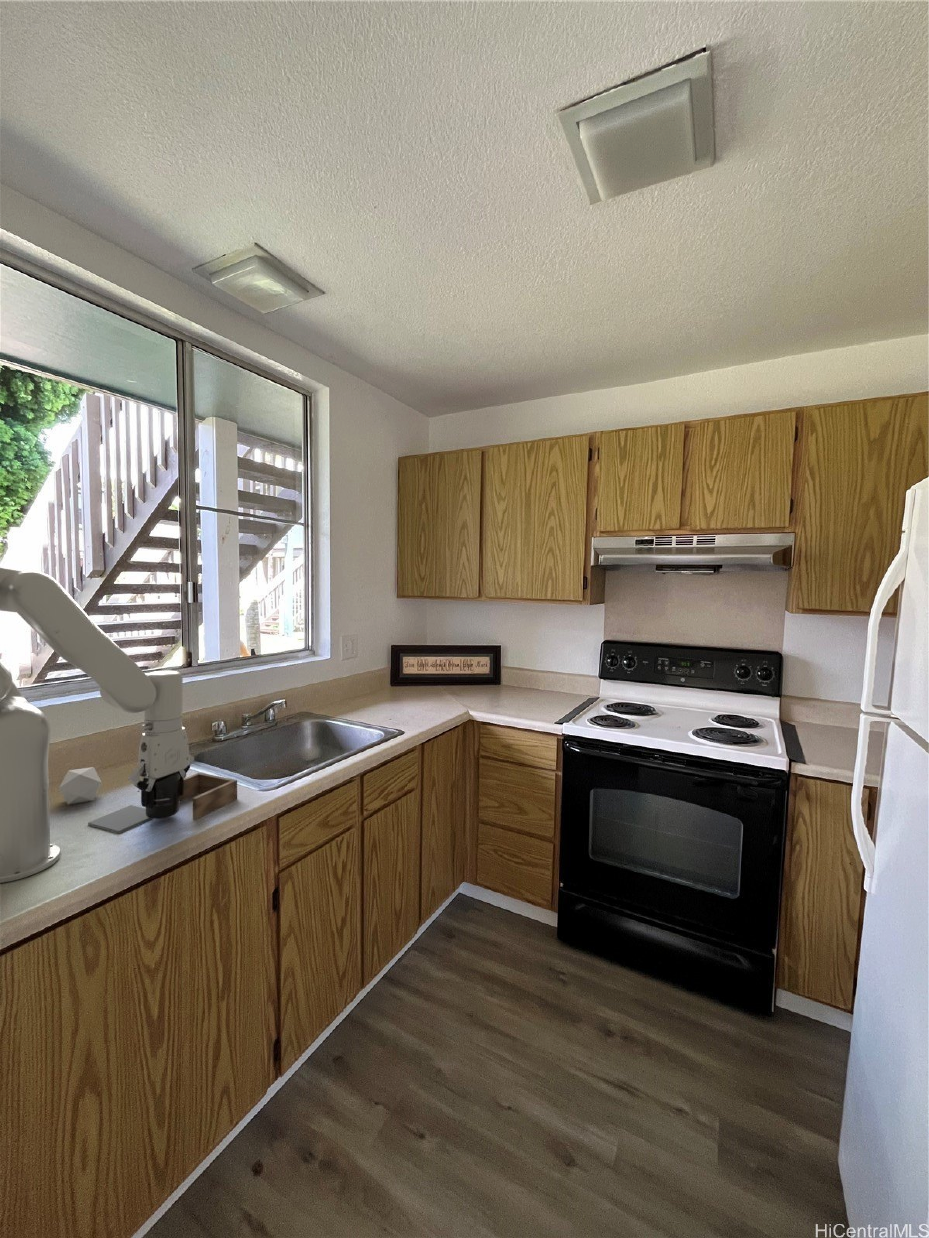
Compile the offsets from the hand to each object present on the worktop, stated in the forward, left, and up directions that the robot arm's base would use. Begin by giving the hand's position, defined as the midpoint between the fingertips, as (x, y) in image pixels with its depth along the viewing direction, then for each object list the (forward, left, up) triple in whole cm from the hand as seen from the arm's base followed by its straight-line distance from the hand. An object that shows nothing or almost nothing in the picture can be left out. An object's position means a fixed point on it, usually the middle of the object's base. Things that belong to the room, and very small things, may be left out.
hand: (163, 799), depth 117 cm
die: (0, +28, -5) cm, 28 cm away
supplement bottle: (0, 0, -3) cm, 3 cm away
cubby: (+9, 0, -5) cm, 10 cm away
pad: (-3, +8, -5) cm, 10 cm away
